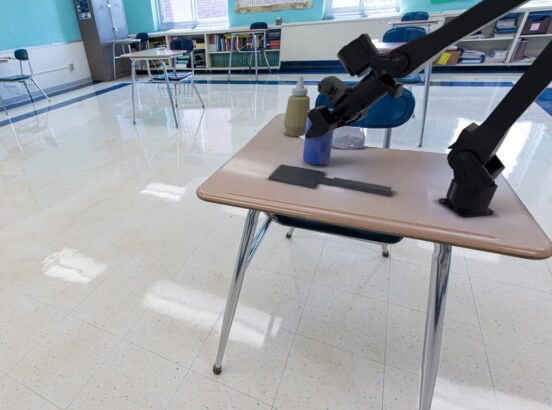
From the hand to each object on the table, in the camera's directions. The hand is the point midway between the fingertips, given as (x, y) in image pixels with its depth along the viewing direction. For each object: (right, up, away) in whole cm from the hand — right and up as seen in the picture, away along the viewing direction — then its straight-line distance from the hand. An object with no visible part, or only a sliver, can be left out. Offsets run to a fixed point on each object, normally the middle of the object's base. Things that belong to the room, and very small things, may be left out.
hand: (314, 133), depth 84 cm
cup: (+1, -6, +2) cm, 7 cm away
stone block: (+14, +1, +16) cm, 21 cm away
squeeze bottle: (+2, +5, +25) cm, 25 cm away
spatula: (+1, -13, -7) cm, 15 cm away
